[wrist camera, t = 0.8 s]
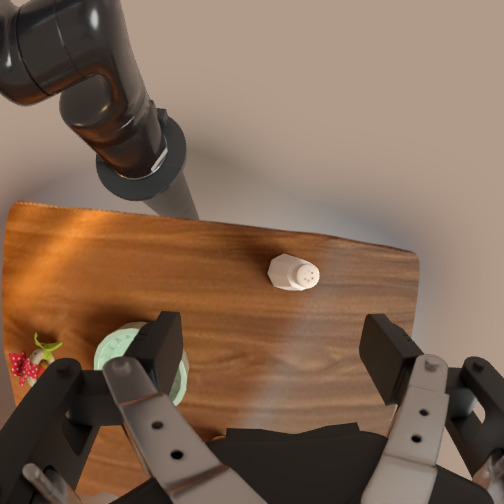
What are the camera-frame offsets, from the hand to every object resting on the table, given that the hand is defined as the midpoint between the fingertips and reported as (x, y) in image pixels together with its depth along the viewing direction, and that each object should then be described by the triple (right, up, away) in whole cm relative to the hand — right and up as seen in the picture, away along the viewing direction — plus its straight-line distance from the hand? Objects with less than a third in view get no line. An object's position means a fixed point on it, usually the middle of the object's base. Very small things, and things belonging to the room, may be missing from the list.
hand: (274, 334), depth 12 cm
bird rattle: (-34, -14, +26) cm, 45 cm away
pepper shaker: (+4, +1, +32) cm, 32 cm away
